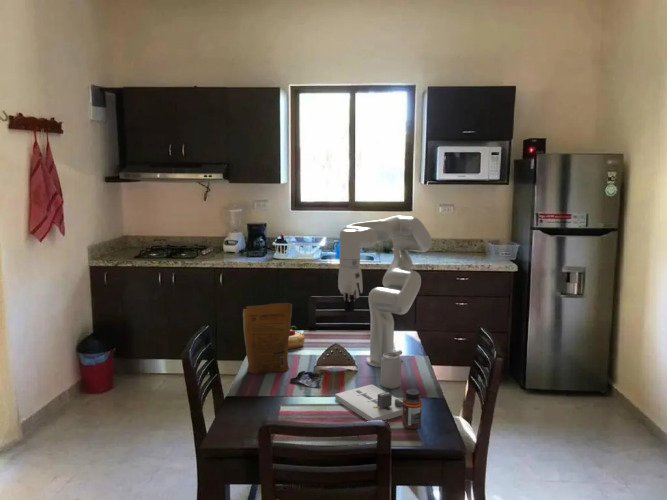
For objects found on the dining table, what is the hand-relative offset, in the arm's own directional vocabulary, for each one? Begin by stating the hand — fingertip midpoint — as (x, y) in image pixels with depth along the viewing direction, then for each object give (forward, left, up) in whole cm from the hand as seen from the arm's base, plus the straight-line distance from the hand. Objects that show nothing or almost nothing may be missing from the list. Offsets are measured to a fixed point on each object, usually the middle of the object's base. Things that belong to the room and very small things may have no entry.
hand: (349, 311), depth 210 cm
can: (-10, +13, -27) cm, 32 cm away
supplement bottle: (+4, +41, -27) cm, 49 cm away
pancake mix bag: (+22, -24, -27) cm, 42 cm away
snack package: (+15, -7, -28) cm, 32 cm away
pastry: (-1, -47, -27) cm, 54 cm away
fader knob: (+6, +30, -25) cm, 39 cm away
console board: (+6, +23, -27) cm, 36 cm away
